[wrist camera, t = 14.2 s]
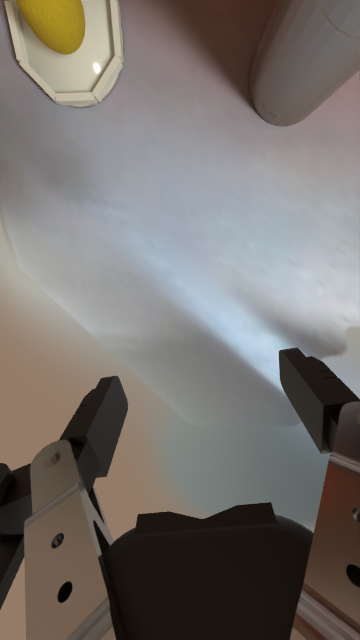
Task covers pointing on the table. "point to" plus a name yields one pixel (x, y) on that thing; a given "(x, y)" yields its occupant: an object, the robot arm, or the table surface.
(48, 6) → the lemon
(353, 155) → the table surface
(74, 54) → the dish
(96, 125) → the table surface
